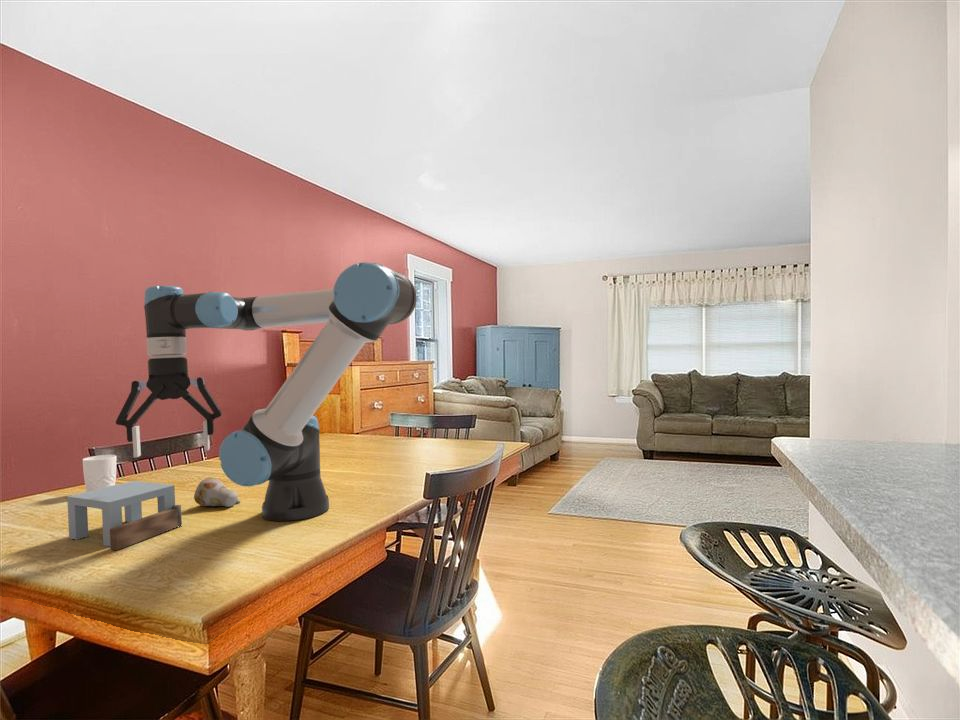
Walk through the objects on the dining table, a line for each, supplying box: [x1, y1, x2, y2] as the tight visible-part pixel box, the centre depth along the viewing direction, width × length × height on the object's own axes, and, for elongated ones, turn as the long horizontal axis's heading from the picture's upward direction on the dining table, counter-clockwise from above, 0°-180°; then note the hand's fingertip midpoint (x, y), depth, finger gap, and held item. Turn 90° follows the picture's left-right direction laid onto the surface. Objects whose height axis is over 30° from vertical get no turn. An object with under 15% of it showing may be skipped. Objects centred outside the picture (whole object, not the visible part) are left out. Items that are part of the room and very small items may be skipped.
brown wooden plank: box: [110, 504, 183, 551], centre depth 112 cm, size 15×2×5 cm, turn 162°
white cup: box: [82, 454, 118, 492], centre depth 151 cm, size 8×8×10 cm
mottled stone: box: [193, 477, 242, 508], centre depth 134 cm, size 8×10×10 cm
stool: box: [66, 480, 176, 548], centre depth 116 cm, size 14×14×9 cm
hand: (172, 453), depth 118 cm, fingers open, 13 cm apart
